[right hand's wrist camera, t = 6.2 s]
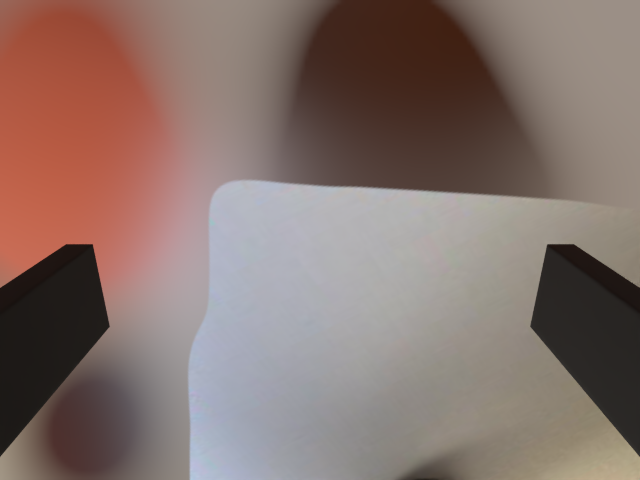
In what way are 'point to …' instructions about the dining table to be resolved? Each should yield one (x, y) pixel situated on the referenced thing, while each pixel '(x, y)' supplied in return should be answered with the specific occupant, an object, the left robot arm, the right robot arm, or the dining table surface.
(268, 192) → the dining table surface
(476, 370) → the dining table surface
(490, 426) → the dining table surface
